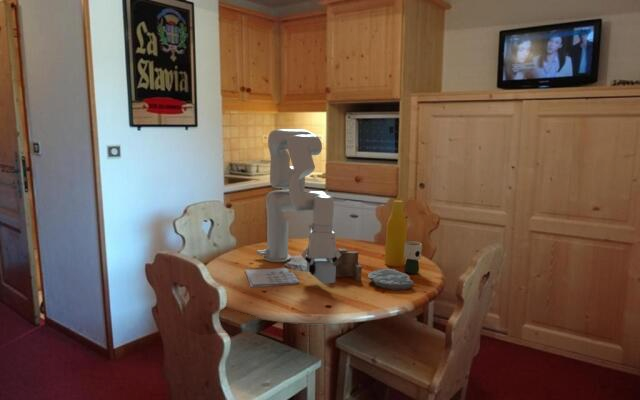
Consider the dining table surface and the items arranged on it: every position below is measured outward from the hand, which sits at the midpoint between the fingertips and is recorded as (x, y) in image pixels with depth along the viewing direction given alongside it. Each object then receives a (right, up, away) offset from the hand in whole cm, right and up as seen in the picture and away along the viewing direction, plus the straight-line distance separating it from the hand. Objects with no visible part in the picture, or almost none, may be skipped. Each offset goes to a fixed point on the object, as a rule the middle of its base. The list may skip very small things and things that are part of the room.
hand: (320, 273), depth 181 cm
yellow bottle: (+34, -1, +33) cm, 47 cm away
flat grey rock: (+27, -6, +7) cm, 29 cm away
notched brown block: (+9, -4, +12) cm, 16 cm away
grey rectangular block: (0, -1, 0) cm, 1 cm away
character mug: (+39, -3, +21) cm, 45 cm away
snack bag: (-20, -4, +11) cm, 23 cm away
